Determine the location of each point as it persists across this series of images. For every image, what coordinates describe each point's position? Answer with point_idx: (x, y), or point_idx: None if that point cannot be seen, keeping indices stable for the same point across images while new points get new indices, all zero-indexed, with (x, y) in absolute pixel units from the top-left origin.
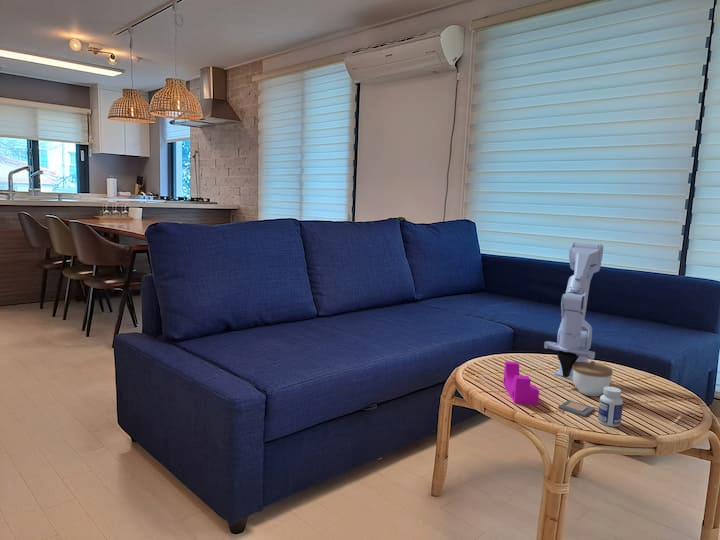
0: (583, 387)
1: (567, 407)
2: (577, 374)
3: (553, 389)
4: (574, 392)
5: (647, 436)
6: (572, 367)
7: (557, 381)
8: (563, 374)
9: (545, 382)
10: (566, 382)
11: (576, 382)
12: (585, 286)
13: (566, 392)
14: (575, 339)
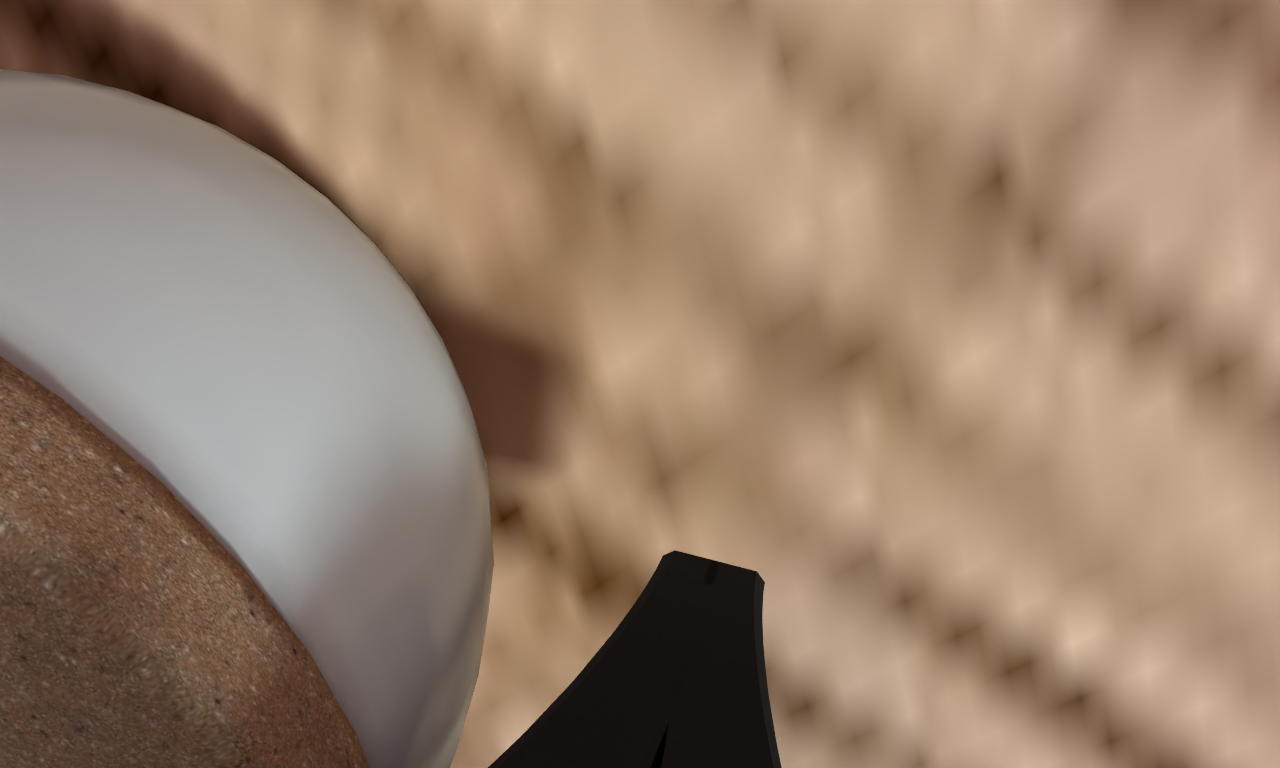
0: (76, 84)
1: None
2: (42, 278)
3: (936, 15)
4: (443, 154)
5: None
6: (298, 665)
7: (949, 627)
8: (739, 600)
9: (1219, 429)
10: (768, 657)
11: (251, 197)
12: None
13: (585, 16)
14: None
